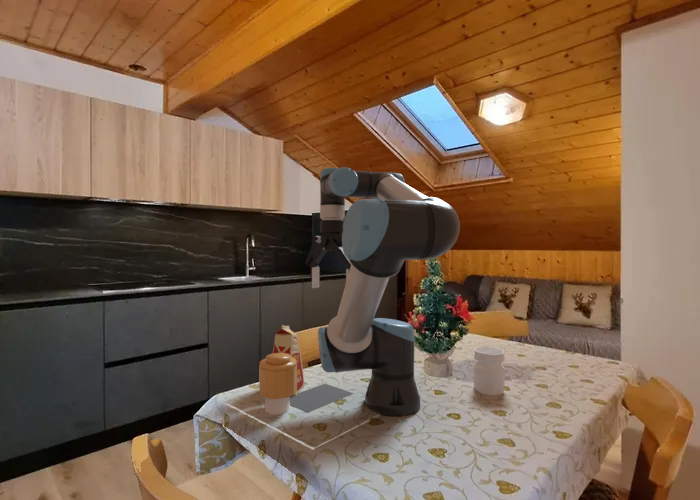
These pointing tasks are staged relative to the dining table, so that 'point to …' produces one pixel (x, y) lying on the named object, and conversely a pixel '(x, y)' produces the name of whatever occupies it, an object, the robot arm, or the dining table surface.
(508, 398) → the dining table surface
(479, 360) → the pill bottle
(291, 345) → the milk carton
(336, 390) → the mat
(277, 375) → the wooden octagonal canister
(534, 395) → the dining table surface
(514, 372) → the dining table surface
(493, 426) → the dining table surface
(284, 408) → the can
